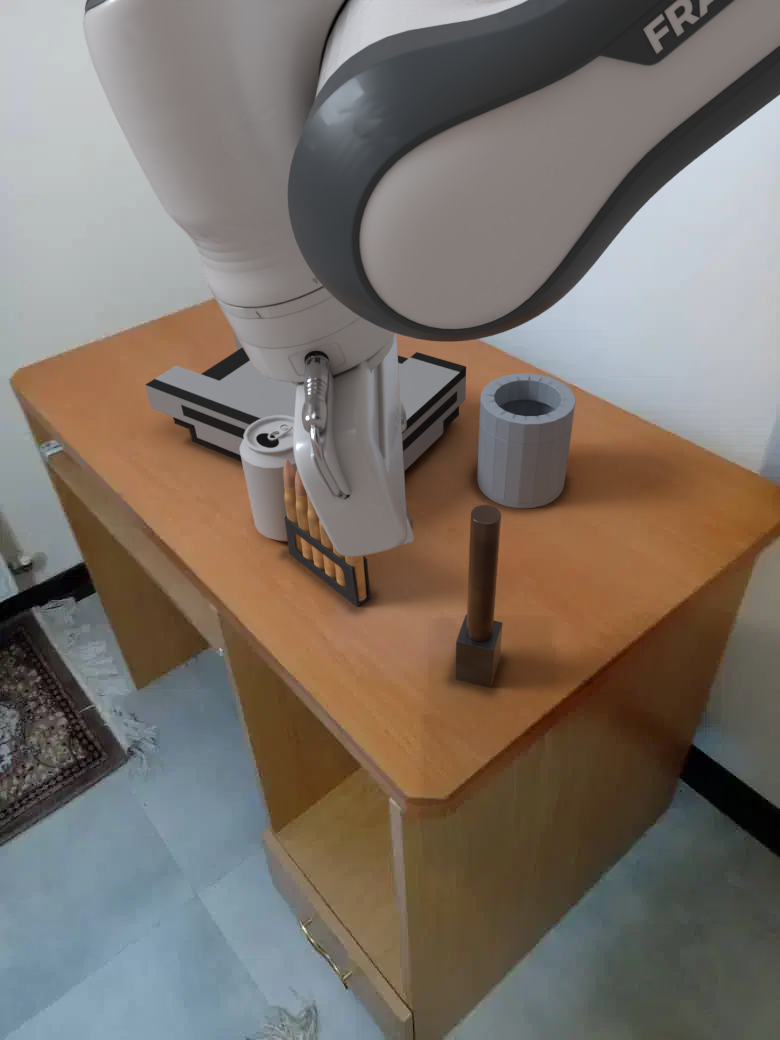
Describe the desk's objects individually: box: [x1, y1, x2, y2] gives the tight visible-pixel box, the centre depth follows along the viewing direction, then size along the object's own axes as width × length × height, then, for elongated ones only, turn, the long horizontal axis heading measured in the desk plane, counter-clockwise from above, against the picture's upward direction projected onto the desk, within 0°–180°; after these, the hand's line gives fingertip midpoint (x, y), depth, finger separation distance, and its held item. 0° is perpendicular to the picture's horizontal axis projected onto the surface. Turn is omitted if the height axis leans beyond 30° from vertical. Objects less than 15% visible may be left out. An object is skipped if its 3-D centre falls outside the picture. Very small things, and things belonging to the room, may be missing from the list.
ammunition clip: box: [283, 459, 372, 607], centre depth 75 cm, size 11×2×12 cm, turn 43°
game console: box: [144, 330, 467, 472], centre depth 95 cm, size 21×32×8 cm, turn 56°
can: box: [240, 415, 297, 542], centre depth 81 cm, size 8×8×12 cm
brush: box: [454, 504, 504, 689], centre depth 63 cm, size 3×3×18 cm
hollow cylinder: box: [476, 372, 576, 509], centre depth 85 cm, size 10×10×11 cm
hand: (397, 477), depth 50 cm, fingers open, 8 cm apart
